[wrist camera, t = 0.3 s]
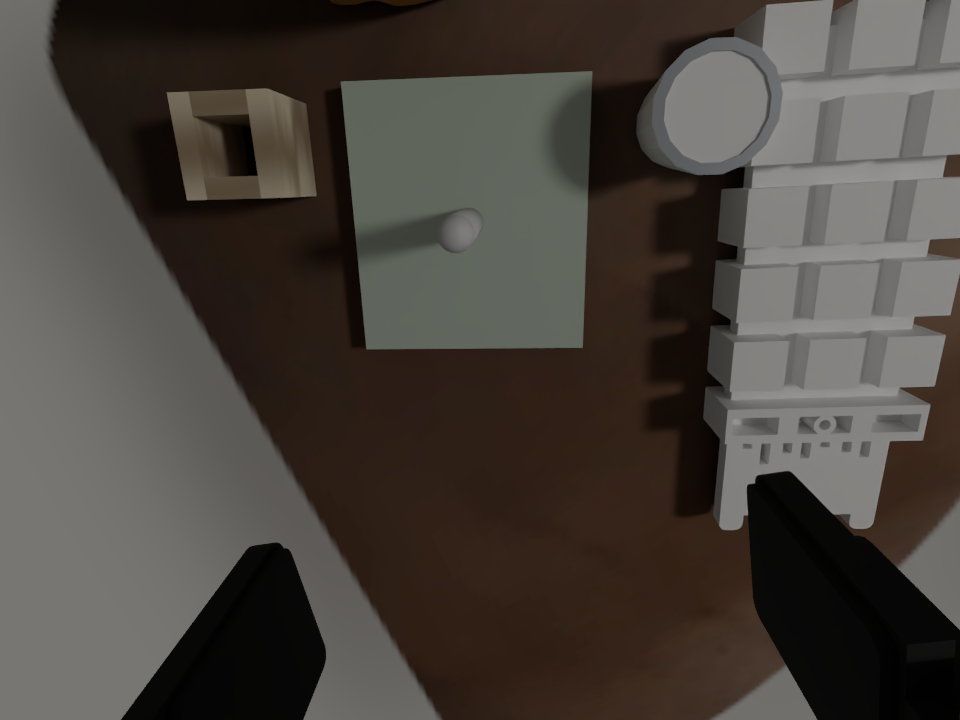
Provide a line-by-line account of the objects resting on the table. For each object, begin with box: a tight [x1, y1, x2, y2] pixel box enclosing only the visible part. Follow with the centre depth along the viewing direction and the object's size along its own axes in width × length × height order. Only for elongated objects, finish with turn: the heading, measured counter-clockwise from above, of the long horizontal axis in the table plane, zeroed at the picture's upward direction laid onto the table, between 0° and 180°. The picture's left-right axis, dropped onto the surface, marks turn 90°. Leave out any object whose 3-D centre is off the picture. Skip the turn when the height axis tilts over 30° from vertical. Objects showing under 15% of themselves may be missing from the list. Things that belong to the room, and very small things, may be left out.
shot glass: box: [636, 37, 783, 175], centre depth 32 cm, size 7×7×7 cm
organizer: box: [703, 0, 960, 530], centre depth 36 cm, size 13×5×35 cm
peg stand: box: [341, 71, 592, 349], centre depth 33 cm, size 18×16×12 cm
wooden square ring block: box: [167, 89, 317, 200], centre depth 35 cm, size 6×6×6 cm
